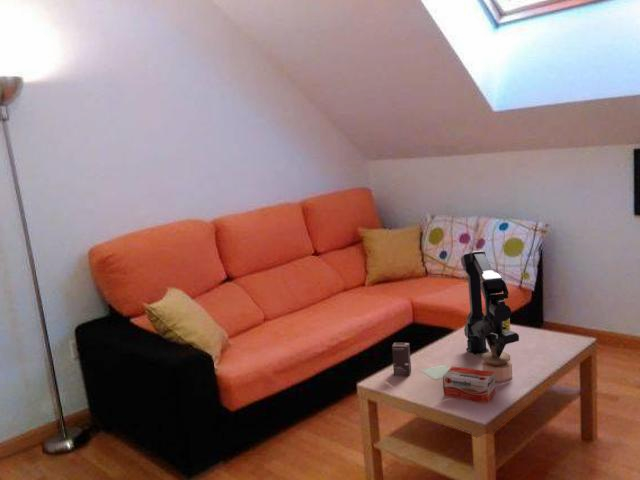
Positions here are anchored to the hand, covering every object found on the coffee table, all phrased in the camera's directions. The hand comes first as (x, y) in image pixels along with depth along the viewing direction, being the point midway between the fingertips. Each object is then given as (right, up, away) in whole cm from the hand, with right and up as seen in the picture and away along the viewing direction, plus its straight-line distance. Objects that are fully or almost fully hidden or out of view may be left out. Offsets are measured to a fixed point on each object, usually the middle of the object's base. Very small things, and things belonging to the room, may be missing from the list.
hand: (496, 354), depth 208 cm
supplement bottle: (+15, 0, +41) cm, 44 cm away
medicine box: (-12, -12, -11) cm, 20 cm away
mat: (-18, -8, +9) cm, 22 cm away
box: (-31, -10, +11) cm, 35 cm away
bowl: (+1, -8, +1) cm, 8 cm away
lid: (0, -1, 0) cm, 1 cm away
